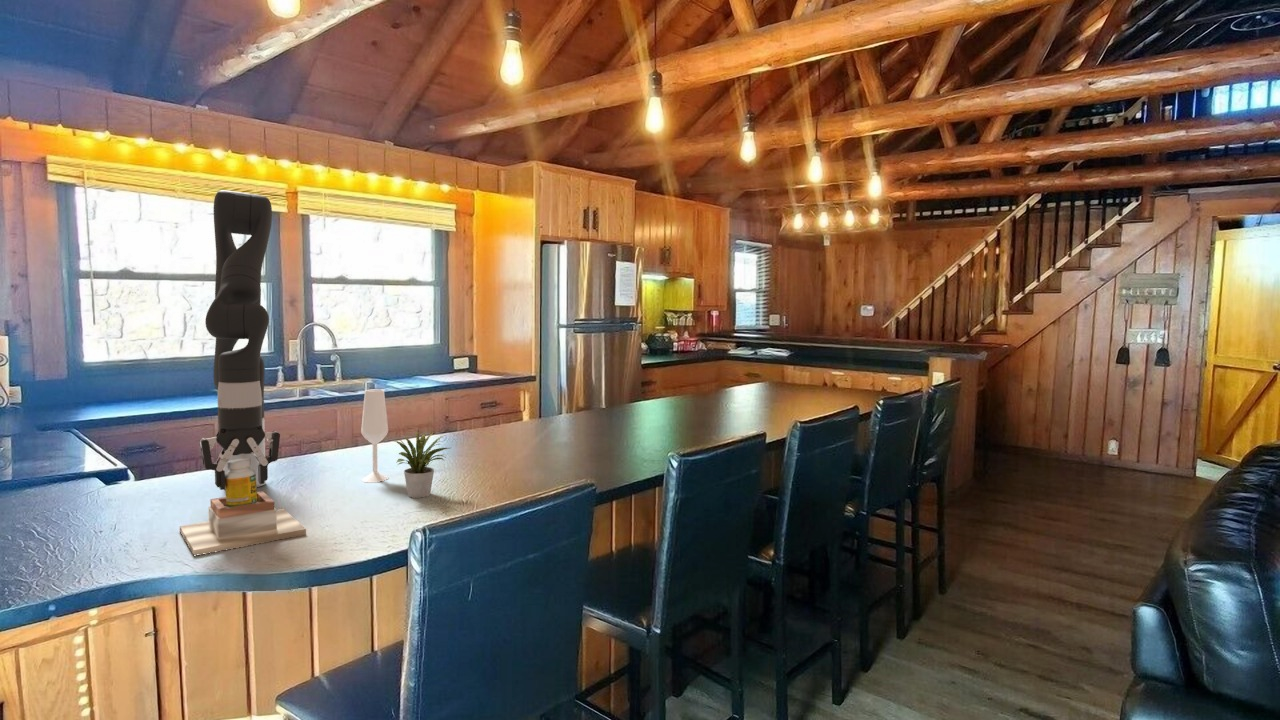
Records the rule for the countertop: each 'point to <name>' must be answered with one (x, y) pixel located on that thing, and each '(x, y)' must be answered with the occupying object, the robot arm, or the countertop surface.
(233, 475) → the supplement bottle
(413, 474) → the house plant
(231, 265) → the robot arm
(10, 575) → the countertop surface
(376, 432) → the champagne flute
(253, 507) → the tower base
